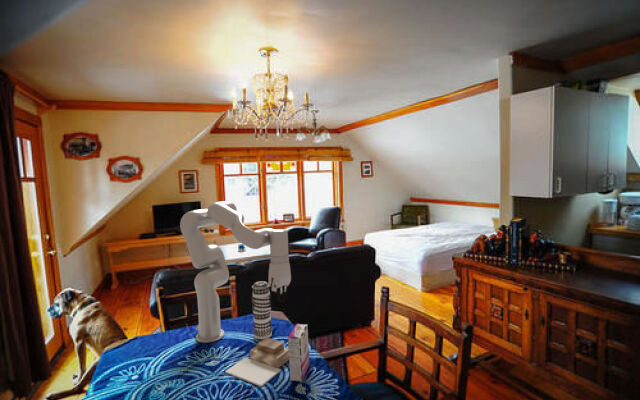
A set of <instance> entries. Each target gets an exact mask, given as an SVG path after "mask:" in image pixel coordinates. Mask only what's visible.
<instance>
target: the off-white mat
mask: <svg viewBox="0 0 640 400" xmlns="http://www.w3.org/2000/svg"><path fill="white" fill-rule="evenodd" d="M281 371H282V370H281V369H280V368H275V367H272V366H269V365H266V364H263V363H261V362H258V361H255V360H252V359H250V357H249V358H248V357H244V358H243V359H241V360H239V362H237V363H235V364H234V365H232V366H231V367H229V368H228V369H226V370H225V374H228V375H230V376H233V377H235V378H238V379H240V380H242V381H245V382H248V383H250V384H253V385H256V386H258V387H259V388H260V387H264V385H266V384H267V383H268V382H269V381H271V380H272V379H273V378H274V377H276V375H279V373H280V372H281Z"/></svg>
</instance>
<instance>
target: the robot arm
mask: <svg viewBox="0 0 640 400" xmlns="http://www.w3.org/2000/svg"><path fill="white" fill-rule="evenodd" d="M237 210H238V209H237V205H235V203H233V202H232V201H229V200H228V201H227V200H223V201H215V202H213V203H211V204H210V205H208V207H207V208H202V209H201V208H200V209H194V210H191V211H187V212H186V213H185V214H183V216H182V217H181V218H180V222H179V224H180V225H179V227H180V231H181V234H182V236H183V238H184V240H185V243H186V246H187V247H186V248H187V249H188V254H189V257H190V261H191V263H192V266H193V267H194V268H196V269H203V268H207V267H210V268H207V269H205V270H203V271H200V272H199V273H197V275H196V276H195V278H194V281H193V282H194V283H193V285H194V289H195V292H196V297H197V310H198V311H197V313H198V315H197V316H198V324H197V326H195V330H196V331H197V332H198V333H197V334H196V336H195V338H196V339H195V340H196V341H197V342H199V343H205V344H207V343H213V342H217V341H219V340H220V339H222V338H223V337H224V336H225V331H224V329H222V328H221V327H222V325H221V310H220V309H221V308H220V297H219V294H218V292H217V290H216V289H217V288H218V287H221V286H223V285H225V284H226V283H228V281H229V279H230V272H229V267H228V265H227V262H226V257H225V255H224V252H223V249H222V248H221V247H220V246H218V245H217V244H213V243H212V244H208V242H207V240H206V237H205V235H204V234H203V232H202V231H201V230H199V229H201V228H206V227H211V226H214V225H218V224H219V225H221V226H222V227H224V228H226V229H228V230H229V231H231V233H232V236H233V237H234V238H235V239H236V241H238V242H239V243H241V244H242V245H243V246H246V247H247V248H249V249H252V250H258V249H261V248H264V247H268V246H269V249H270V252H269V253H270V254H269V255H270V263H269V267H268V284H269V288H271V292H275V293H276V301H277V303H281V304H282V303H283V304H284V303H285V302H286V300H287V299H286V292H287V287H288V286H289V285H290V283H291V281H292V273H291V271H292V270H291V264H290V257H289V236H288V230H287V229H283V228H282V229H281V228H279V229H278V228H275V229H274V228H271V227H263V228H260V229H259V228H258V229H256V230H254V229H251V228H249V227H248V226H246V225H245V224H244V222H245V217H244V215H243V214H242V213H240V212H238V211H237Z"/></svg>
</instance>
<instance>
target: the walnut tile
mask: <svg viewBox="0 0 640 400" xmlns="http://www.w3.org/2000/svg"><path fill="white" fill-rule="evenodd" d="M256 346H257V350H259V351H262V352H266V353H269V354H272V355H276V354H277V353H279V352H280V351H281V350H283V349H284V348H285V342H284V341H280V340H277V339H273V338H270V337H269V338H265V339H261V341H260V342H258V343H256Z"/></svg>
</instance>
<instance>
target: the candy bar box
mask: <svg viewBox="0 0 640 400" xmlns="http://www.w3.org/2000/svg"><path fill="white" fill-rule="evenodd" d="M287 342H288V343H287V344H288V348H287V349H289V360H288V363H289V381H292V382H300V383H301V382H303V381H304V380H305V379H304V378H305V377H306V374H307V371H308V370H309V367H310V349H309V329H308V324H305V323H304V324H303V323H296V324H295V325H294V327H293V329H292V330H291V332H290V334H289V335H288V337H287Z"/></svg>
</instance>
